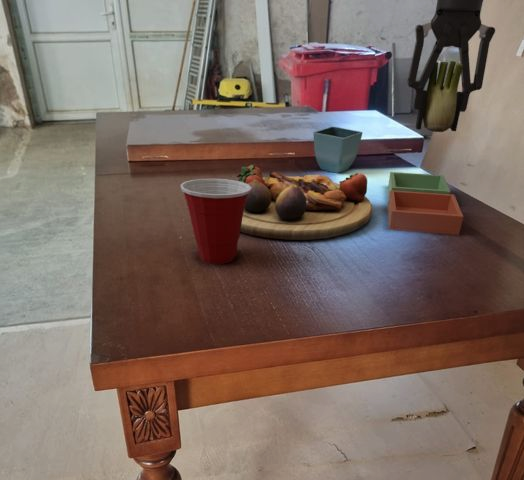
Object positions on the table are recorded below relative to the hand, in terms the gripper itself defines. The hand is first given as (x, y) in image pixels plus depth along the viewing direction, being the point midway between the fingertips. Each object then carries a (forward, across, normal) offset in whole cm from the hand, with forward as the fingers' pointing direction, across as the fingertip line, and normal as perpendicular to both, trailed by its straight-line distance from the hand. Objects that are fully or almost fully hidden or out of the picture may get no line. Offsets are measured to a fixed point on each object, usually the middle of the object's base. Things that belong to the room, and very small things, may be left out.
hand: (435, 128), depth 102 cm
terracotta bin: (+15, -1, -10) cm, 18 cm away
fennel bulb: (+1, 0, 0) cm, 1 cm away
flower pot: (+15, -19, +21) cm, 32 cm away
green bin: (+15, -1, +4) cm, 15 cm away
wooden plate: (+15, -26, -11) cm, 32 cm away
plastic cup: (+15, -36, -34) cm, 52 cm away
